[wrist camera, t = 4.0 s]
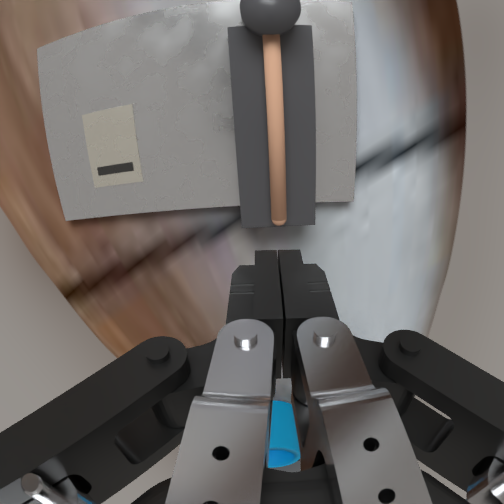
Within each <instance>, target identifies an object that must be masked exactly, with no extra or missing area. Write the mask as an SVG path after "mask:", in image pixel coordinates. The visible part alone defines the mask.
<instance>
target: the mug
mask: <svg viewBox="0 0 504 504" xmlns="http://www.w3.org/2000/svg"><path fill="white" fill-rule="evenodd" d="M299 459H300V449H299V443H298V437H297V431H296V426H295V420H294V414H293V408H292V405H291V404H289V403H286V402H283V401H273V405H272V419H271V433H270V447H269V461H268V468H273V467H282V466H287V465H290V464H293V463H294V462H296V461H298V460H299Z"/></svg>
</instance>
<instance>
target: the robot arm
mask: <svg viewBox="0 0 504 504" xmlns="http://www.w3.org/2000/svg"><path fill="white" fill-rule="evenodd" d="M281 364H282V368H283V378H291V381H292V394H291V403H292V408H293V414H294V420H295V426H296V431H297V437H298V443H299V449H300V467H301V468H300V469H301V471H300V472H293V473H291V472H284V471H279V470H274V469H269V468H268V461H269V447H270V433H271V419H272V405H273V397H274V395H275V385H276V379H277V378H281ZM415 395H417V396H418V397H420V398H421V399H423V400H424V401H426V402H427V403H429V404H430V405H432V406H434V407H435V408H437V409H438V410H440V411H441V412H443V413H444V414H446V415H447V416H449V417H450V418H451V419H452V420H450V419H447V418H445V417H443V416H442V415H440V414H438V413H437V412H436V411H434V410H432V409H431V408H429V407H428V406H426V405H425V404H423V403H422V402H420V401H419V400H417V399H415V398H414V396H415ZM179 444H180V448H179V452H178V456H177V459H176V463H175V467H174V471H173V475H172V478H169V479H167V480H165V481H162V482H161V483H158V484H157V485H155V486H153V487H152V488H150V489H149V490H147V491H146V492H145V493H144V494H142V495H141V496H140V497H139V498H137V499H136V500H135V501H134V502H132V503H131V504H504V382H502V381H501V380H499V379H497V378H496V377H494V376H492V375H490V374H489V373H487V372H485V371H484V370H482V369H480V368H478V367H477V366H475V365H473V364H472V363H470V362H468V361H466V360H465V359H463V358H461V357H460V356H458V355H456V354H455V353H453V352H451V351H449V350H448V349H446V348H444V347H443V346H441V345H439V344H437V343H436V342H434V341H432V340H431V339H429V338H427V337H425V336H424V335H422V334H420V333H418V332H415V331H411V330H398V331H394V332H392V333H390V334H389V335H388V336H387V337H386V338H385V340H384V343H382V342H375V341H369V340H364V339H360V338H357V337H355V336H353V335H352V333H351V331H350V329H349V328H348V327H347V325H345V324H344V323H343V322H341V321H340V320H339V317H338V314H337V310H336V307H335V304H334V301H333V297H332V294H331V292H330V288H329V284H328V281H327V278H326V275H325V272H324V271H323V270H322V269H321V268H320V267H319V266H318V265H316V264H303V261H302V256H301V252H300V250H278V259H277V250H262V251H255V265H240V266H239V267H238V268H237V269H236V270H235V271H234V273H233V274H232V279H231V287H230V295H229V303H228V311H227V319H226V325H225V326H224V327H223V328H222V329H221V330H220V331H219V333H218V336H217V338H216V339H215V340H213V341H212V342H210V343H207V344H204V345H201V346H196V347H192V348H187V349H186V348H185V346H184V345H183V343H181V342H180V341H179V340H177V339H175V338H172V337H165V336H161V337H154V338H150V339H148V340H146V341H144V342H142V343H141V344H139V345H137V346H136V347H134V348H133V349H131V350H130V351H128V352H127V353H125V354H124V355H122V356H121V357H119V358H117V359H116V360H114V361H113V362H111V363H110V364H108V365H107V366H105V367H104V368H102V369H101V370H99V371H97V372H96V373H95V374H93V375H91V376H90V377H88V378H86V379H85V380H84V381H82V382H80V383H79V384H77V385H76V386H74V387H73V388H71V389H69V390H68V391H66V392H65V393H63V394H62V395H60V396H58V397H57V398H55V399H53V400H52V401H50V402H49V403H47V404H46V405H44V406H42V407H41V408H39V409H38V410H36V411H35V412H33V413H32V414H30V415H28V416H27V417H25V418H23V419H22V420H20V421H18V422H17V423H15V424H14V425H12V426H11V427H9V428H7V429H6V430H4V431H2V432H1V433H0V504H101V503H102V502H104V501H106V500H107V499H108V498H109V497H111V496H112V495H114V494H115V493H117V492H118V491H120V490H121V489H122V488H124V487H125V486H127V485H128V484H129V483H131V482H132V481H133V480H135V479H136V478H137V477H139V476H140V475H141V474H143V473H144V472H145V471H147V470H148V469H149V468H151V467H152V466H153V465H154V464H156V463H157V462H158V461H160V460H161V459H162V458H163V457H165V456H166V455H167V454H168V453H170V452H171V451H172V450H173V449H175V448H176V447H177V446H178V445H179ZM417 460H419V461H421V462H422V463H423V464H425V465H426V466H428V467H429V468H431V469H432V470H434V471H435V472H437V473H438V474H439V475H441V476H443V477H444V478H446V479H447V480H449V481H450V482H452V483H453V484H455V485H456V486H458V487H459V488H461V489H463V490H464V491H466V492H467V498H466V500H465V499H463V498H462V497H461V496H459V495H458V494H456V493H455V492H453V491H452V490H450V489H449V488H448V487H446V486H445V485H444V484H442V483H441V482H439V481H438V480H437V479H435V478H434V477H432V476H431V475H429V474H428V473H426V472H424V471H422V470H420V467H419V464H418V462H417Z"/></svg>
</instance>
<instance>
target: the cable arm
mask: <svg viewBox="0 0 504 504" xmlns="http://www.w3.org/2000/svg"><path fill="white" fill-rule="evenodd" d="M240 13H241V19H242V24H243V26H236V27H227V30H228V45H229V60H230V75H231V89H232V103H233V117H234V131H235V145H236V159H237V172H238V185H239V198H240V211H241V224H242V228H255V227H275V226H297V225H315V203H316V109H315V76H314V54H313V36H312V25H294V24H295V23H296V22H297V20H298V19H299V17H300V14H301V3H300V0H241V1H240Z"/></svg>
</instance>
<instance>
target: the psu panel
mask: <svg viewBox="0 0 504 504" xmlns="http://www.w3.org/2000/svg"><path fill="white" fill-rule="evenodd" d="M240 1H241V0H225V1H215V2H206V3H198V4H191V5H185V6H178V7H173V8H167V9H162V10H157V11H152V12H148V13H143V14H139V15H135V16H131V17H127V18H123V19H119V20H116V21H112V22H109V23H105V24H102V25H99V26H96V27H93V28H90V29H87V30H84V31H81V32H78V33H75V34H72V35H70V36H67V37H64V38H62V39H59V40H57V41H54V42H52V43H49V44H47V45H45V46H42V47H40V48H38V49H37V58H38V73H39V84H40V94H41V102H42V110H43V117H44V124H45V130H46V136H47V142H48V147H49V152H50V157H51V162H52V167H53V172H54V176H55V181H56V185H57V189H58V193H59V197H60V201H61V205H62V209H63V212H64V216H65V219H66V221H69V220H78V219H86V218H96V217H105V216H115V215H125V214H135V213H146V212H158V211H170V210H183V209H196V208H211V207H226V206H240V198H239V185H238V172H237V159H236V145H235V131H234V117H233V103H232V89H231V75H230V60H229V45H228V30H227V27H236V26H243V24H242V19H241V13H240ZM300 3H301V14H300V17H299V19H298V20H297V22H296V23H295V24H294V25H312V36H313V54H314V76H315V109H316V202H350V201H354V185H355V165H356V132H357V84H356V53H355V34H354V20H353V7H352V2H346V1H336V0H300Z"/></svg>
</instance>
